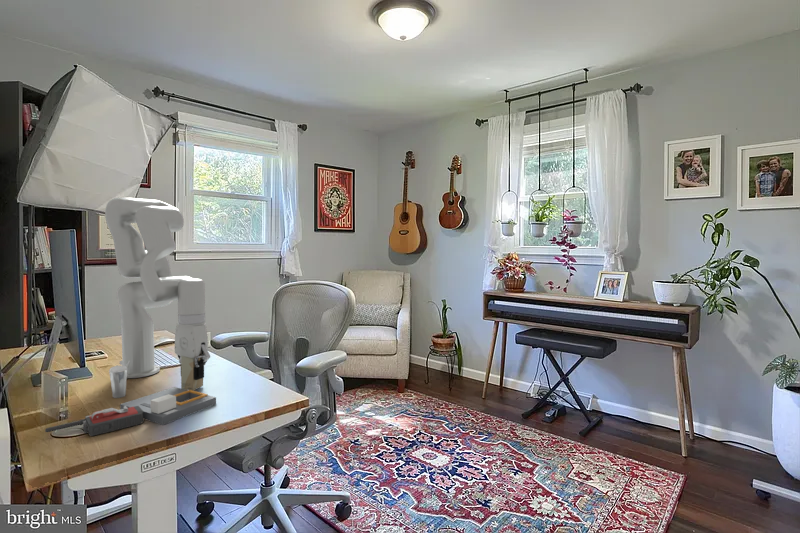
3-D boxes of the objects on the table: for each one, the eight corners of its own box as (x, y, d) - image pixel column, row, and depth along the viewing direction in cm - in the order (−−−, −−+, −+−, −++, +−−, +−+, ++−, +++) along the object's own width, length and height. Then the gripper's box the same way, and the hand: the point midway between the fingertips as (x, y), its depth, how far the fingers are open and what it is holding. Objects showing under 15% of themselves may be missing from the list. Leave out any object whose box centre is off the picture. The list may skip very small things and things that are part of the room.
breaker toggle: (150, 411, 114) (150, 400, 114) (169, 405, 118) (168, 394, 118) (158, 413, 112) (157, 402, 112) (176, 407, 117) (176, 396, 117)
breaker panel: (120, 411, 119) (120, 402, 119) (174, 393, 133) (174, 385, 133) (162, 425, 111) (162, 415, 111) (216, 404, 125) (215, 395, 125)
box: (193, 391, 134) (192, 355, 133) (180, 389, 135) (180, 354, 134) (204, 385, 139) (203, 350, 139) (191, 384, 140) (191, 349, 139)
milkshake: (134, 394, 132) (133, 361, 131) (114, 400, 128) (113, 366, 127) (126, 391, 135) (125, 359, 134) (107, 396, 130) (105, 363, 130)
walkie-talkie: (140, 412, 118) (44, 434, 105) (140, 396, 118) (44, 416, 104) (149, 422, 112) (48, 448, 98) (149, 405, 112) (48, 428, 98)
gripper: (162, 317, 136) (163, 375, 138) (200, 324, 128) (200, 385, 130) (184, 314, 143) (185, 369, 144) (221, 320, 135) (221, 378, 136)
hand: (192, 376), depth 137 cm, fingers closed on box, 5 cm apart
